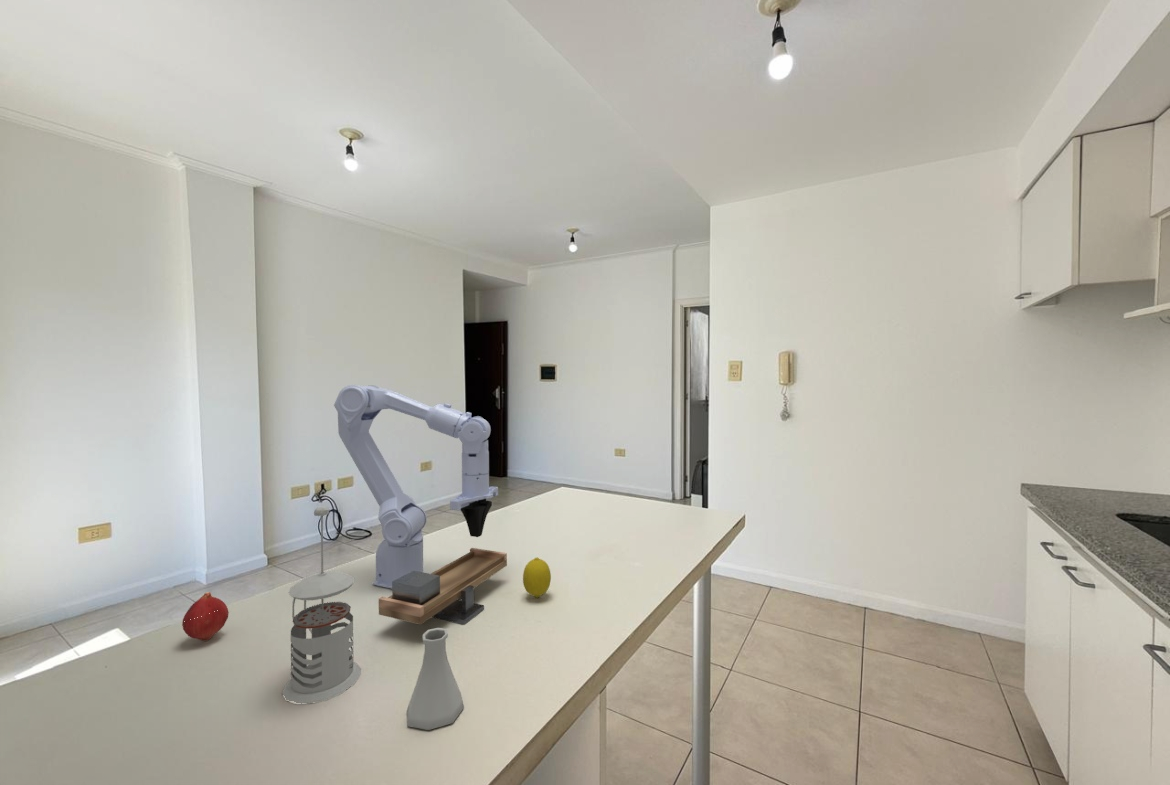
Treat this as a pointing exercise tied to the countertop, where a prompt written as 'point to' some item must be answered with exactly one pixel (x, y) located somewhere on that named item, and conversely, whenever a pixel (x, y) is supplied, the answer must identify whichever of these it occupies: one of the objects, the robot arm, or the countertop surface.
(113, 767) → the countertop surface
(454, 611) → the pivot stand
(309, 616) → the french press
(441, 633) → the flask
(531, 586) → the lemon
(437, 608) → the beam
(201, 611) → the red pomegranate
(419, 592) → the steel block
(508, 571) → the countertop surface
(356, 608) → the countertop surface
